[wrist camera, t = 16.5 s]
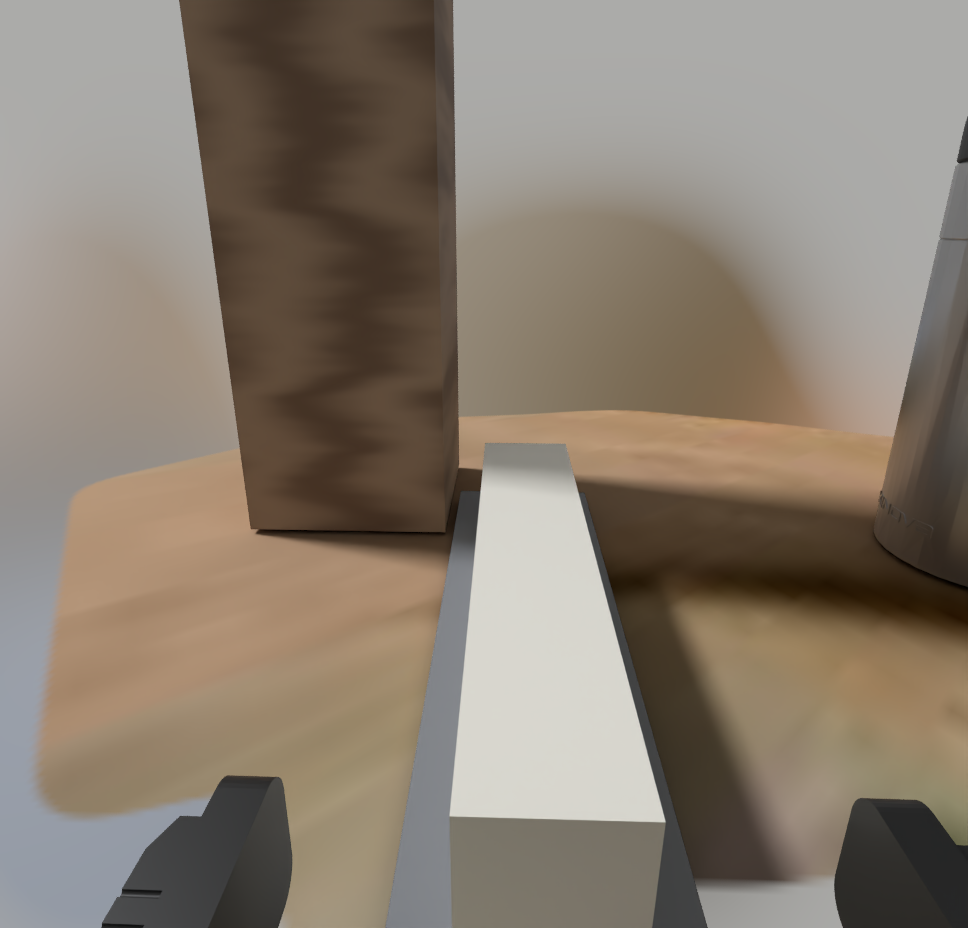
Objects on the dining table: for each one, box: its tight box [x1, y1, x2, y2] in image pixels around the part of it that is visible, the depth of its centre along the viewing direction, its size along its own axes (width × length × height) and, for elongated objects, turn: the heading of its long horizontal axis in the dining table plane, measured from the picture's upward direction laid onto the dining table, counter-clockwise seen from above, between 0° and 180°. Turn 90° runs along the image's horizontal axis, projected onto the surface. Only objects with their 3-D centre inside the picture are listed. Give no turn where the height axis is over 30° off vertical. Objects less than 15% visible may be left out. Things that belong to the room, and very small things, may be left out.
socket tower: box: [179, 0, 459, 532], centre depth 32 cm, size 10×10×38 cm
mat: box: [385, 491, 708, 928], centre depth 26 cm, size 7×25×1 cm, turn 178°
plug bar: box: [449, 443, 666, 928], centre depth 23 cm, size 4×22×4 cm, turn 178°
